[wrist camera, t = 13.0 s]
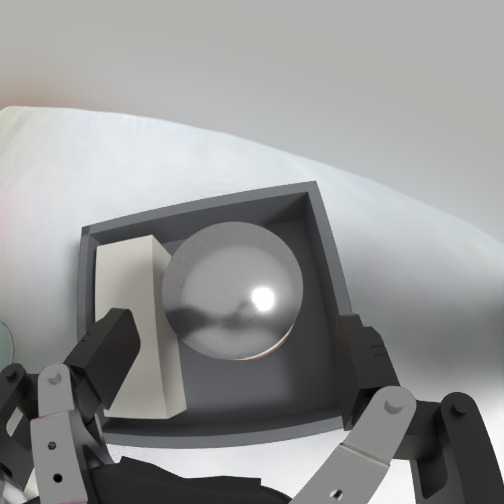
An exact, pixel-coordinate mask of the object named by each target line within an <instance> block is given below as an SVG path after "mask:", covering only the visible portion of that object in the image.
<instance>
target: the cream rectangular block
mask: <svg viewBox="0 0 504 504" xmlns="http://www.w3.org/2000/svg"><path fill="white" fill-rule="evenodd" d="M170 260H171V255H170V254H169V253H168V252H167V251H166V250H165V249H164V247H163V246H162V245H161V244H160V243H159V242H158V241H157V240H156V239H155V237H154V236H153V235H149V236H144V237H139V238H134V239H130V240H125V241H120V242H116V243H111V244H107V245H102V246H98V247H97V256H96V278H95V322H97V321H98V320H100V319H101V318H104V316H105V315H106V314H107V313H108V311H109V310H110V309H111V308H124V309H130V310H131V312H132V314H133V317H134V321H135V324H136V327H137V330H138V333H139V336H140V340H141V347H140V351H139V354H138V356H137V357H136V359H135V361H134V363H133V365H132V367H131V369H130V370H129V372H128V374H127V376H126V378H125V380H124V382H123V384H122V386H121V388H120V390H119V392H118V394H117V396H116V398H115V399H114V401H113V403H112V405H111V407H110V409H109V410H105V409H103V410H104V416H106V417H120V418H142V419H168V418H170V417H172V416H174V415H177V414H179V413H181V412H183V411H185V410H187V407H186V400H185V394H184V387H183V380H182V373H181V365H180V357H179V349H178V340H177V334H176V333H175V332H174V331H173V329H172V327H171V326H170V324H169V322H168V320H167V317H166V315H165V311H164V308H163V302H162V284H163V278H164V274H165V271H166V268H167V266H168V263H169V261H170Z"/></svg>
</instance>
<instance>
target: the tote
mask: <svg viewBox="0 0 504 504" xmlns="http://www.w3.org/2000/svg"><path fill="white" fill-rule="evenodd" d="M225 222H244V223H250V224H254V225H257V226H260V227H263V228H265V229H267V230H269V231H270V232H272V233H274V234H275V235H276V236H278V237H279V238H280V239H281V240H282V241H283V242H284V243H285V244H286V245H287V246H288V247H289V248H290V250H291V251H292V253H293V254H294V256H295V258H296V260H297V262H298V264H299V267H300V270H301V274H302V280H303V297H302V303H301V307H300V311H299V313H298V316H297V318H296V321H295V324H294V326H293V328H292V330H291V332H290V334H289V336H288V337H287V339H286V340H285V342H284V343H283V345H282V346H281V347H280V348H279V349H278V350H277V351H276V352H274V353H273V354H271V355H270V356H268V357H265V358H263V359H259V360H255V361H230V360H224V359H217V358H212V357H209V356H206V355H203V354H201V353H199V352H197V351H195V350H193V349H192V348H191V347H189V346H188V345H186V344H185V343H184V342H183V341H182V340H181V339H180V338H179V337H178V336H177V340H178V349H179V357H180V365H181V373H182V380H183V387H184V394H185V400H186V407H187V410H185V411H183V412H181V413H179V414H177V415H174V416H172V417H170V418H168V419H142V418H120V417H106V416H104V410H103V409H101V408H98V409H97V411H96V414H97V415H98V418H99V422H100V426H101V429H102V433H103V436H104V440H105V443H106V444H114V445H123V446H134V447H147V448H172V449H196V448H221V447H235V446H246V445H255V444H263V443H271V442H278V441H284V440H290V439H296V438H301V437H306V436H311V435H316V434H320V433H325V432H329V431H333V430H337V429H341V428H344V427H343V421H342V414H341V408H340V402H339V396H338V390H337V385H336V379H335V373H334V368H333V363H332V344H333V338H334V332H335V326H336V319H337V316H338V315H339V314H352V309H351V305H350V300H349V296H348V292H347V288H346V284H345V279H344V275H343V271H342V268H341V264H340V260H339V256H338V252H337V249H336V245H335V241H334V238H333V234H332V231H331V227H330V224H329V221H328V217H327V214H326V211H325V207H324V204H323V201H322V198H321V194H320V191H319V188H318V185H317V182H316V181H310V182H302V183H295V184H288V185H282V186H275V187H269V188H263V189H256V190H251V191H245V192H239V193H233V194H228V195H222V196H217V197H212V198H206V199H201V200H196V201H191V202H186V203H181V204H177V205H172V206H167V207H163V208H158V209H154V210H149V211H145V212H141V213H136V214H132V215H128V216H124V217H120V218H116V219H112V220H108V221H104V222H100V223H96V224H92V225H89V226H85V227H82V233H81V243H80V253H79V267H78V286H77V337H78V342H79V341H81V339H82V337H83V336H84V335H86V332H87V331H88V330H89V328H90V327H91V326H92V325H93V324H94V323H96V322H95V278H96V256H97V247H98V246H102V245H107V244H111V243H116V242H120V241H125V240H130V239H134V238H139V237H144V236H149V235H153V236H154V237H155V239H156V240H157V241H158V242H159V243H160V244H161V245H162V246H163V247H164V249H165V250H166V251H167V252H168V253H169V254H170V255H171V258H172V256H173V254H174V253H175V252H176V250H177V249H178V248H179V247H180V246H181V245H182V243H183V242H185V241H186V240H187V239H188V238H189V237H190V236H192V235H193V234H195V233H196V232H198V231H200V230H202V229H204V228H206V227H209V226H212V225H215V224H219V223H225Z"/></svg>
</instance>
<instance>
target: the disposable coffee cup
mask: <svg viewBox="0 0 504 504" xmlns="http://www.w3.org/2000/svg"><path fill="white" fill-rule="evenodd" d="M13 354H14V348H13V341H12V336H11V334H10V332H9V330H8V328H7V326H5V325H4V324H3V323H2V322H1V321H0V373H1V371H2V370H3V369H4V368H5V367H7V366H8V365H10V364H12V362H13Z"/></svg>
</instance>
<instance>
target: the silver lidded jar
mask: <svg viewBox="0 0 504 504" xmlns="http://www.w3.org/2000/svg"><path fill="white" fill-rule="evenodd" d="M302 297H303V280H302V274H301V270H300V267H299V264H298V262H297V260H296V258H295V256H294V254H293V253H292V251H291V250H290V248H289V247H288V246H287V245H286V244H285V243H284V242H283V241H282V240H281V239H280V238H279V237H278V236H276V235H275V234H274V233H272V232H270V231H269V230H267V229H265V228H263V227H260V226H257V225H254V224H250V223H244V222H225V223H219V224H215V225H212V226H209V227H206V228H204V229H202V230H200V231H198V232H196V233H195V234H193V235H192V236H190V237H189V238H188V239H187V240H186V241H185V242H183V243H182V245H181V246H180V247H179V248H178V249H177V250H176V252H175V253H174V254H173V256H172V258H171V260H170V261H169V263H168V266H167V268H166V271H165V274H164V278H163V284H162V302H163V308H164V311H165V315H166V317H167V320H168V322H169V324H170V326H171V327H172V329H173V331H174V332H175V333H176V334H177V336H178V337H179V338H180V339H181V340H182V341H183V342H184V343H185V344H186V345H188V346H189V347H191V348H192V349H193V350H195V351H197V352H199V353H201V354H203V355H206V356H209V357H212V358H217V359H224V360H230V361H255V360H259V359H263V358H265V357H268V356H270V355H271V354H273V353H274V352H276V351H277V350H278V349H279V348H280V347H281V346H282V345H283V343H284V342H285V340H286V339H287V337H288V336H289V334H290V332H291V330H292V328H293V326H294V324H295V321H296V318H297V316H298V313H299V311H300V307H301V303H302Z"/></svg>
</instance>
